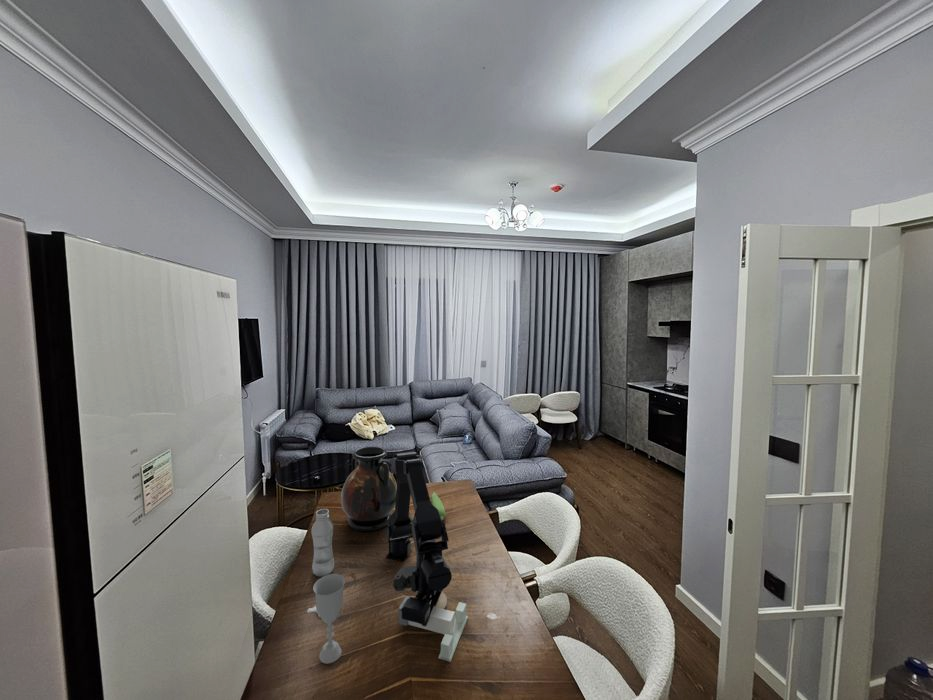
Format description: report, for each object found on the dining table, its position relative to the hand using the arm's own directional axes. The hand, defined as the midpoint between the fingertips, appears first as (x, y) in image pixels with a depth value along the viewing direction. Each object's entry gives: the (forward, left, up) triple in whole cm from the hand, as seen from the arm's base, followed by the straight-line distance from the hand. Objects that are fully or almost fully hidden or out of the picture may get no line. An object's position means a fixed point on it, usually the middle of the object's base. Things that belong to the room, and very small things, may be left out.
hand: (426, 620), depth 102 cm
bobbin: (-2, +9, -2) cm, 9 cm away
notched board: (+8, 0, -2) cm, 8 cm away
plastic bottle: (-39, +10, -3) cm, 40 cm away
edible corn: (-19, +57, -3) cm, 60 cm away
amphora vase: (-41, +41, -3) cm, 58 cm away
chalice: (-19, -14, -3) cm, 24 cm away
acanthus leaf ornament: (-30, -2, -3) cm, 30 cm away
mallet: (0, 0, -1) cm, 1 cm away
